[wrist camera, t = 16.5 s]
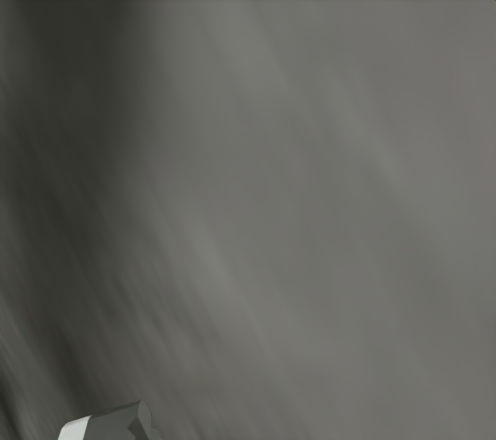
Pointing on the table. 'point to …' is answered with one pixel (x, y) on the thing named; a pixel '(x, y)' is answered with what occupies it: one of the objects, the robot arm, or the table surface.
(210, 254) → the table surface
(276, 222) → the table surface
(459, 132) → the table surface
